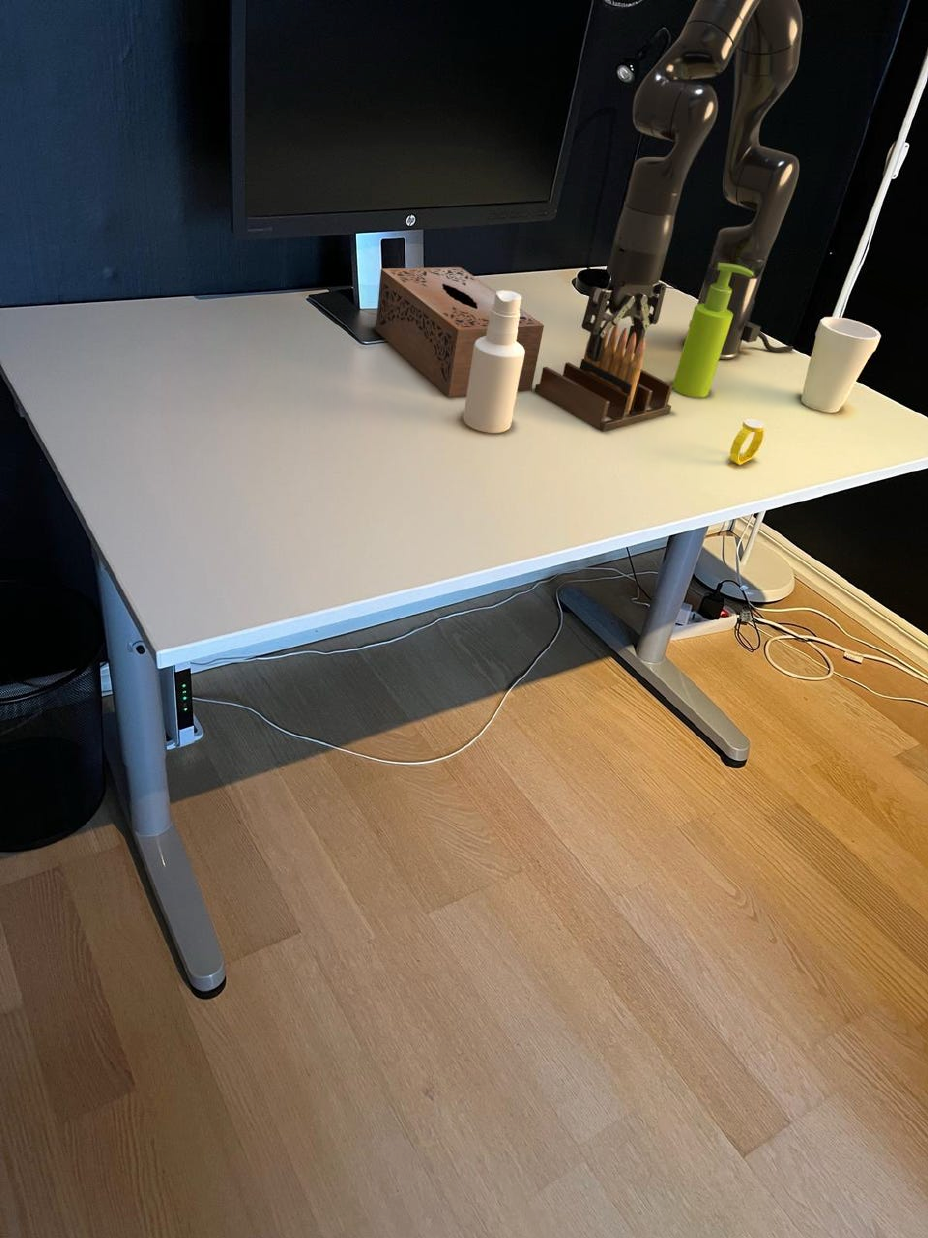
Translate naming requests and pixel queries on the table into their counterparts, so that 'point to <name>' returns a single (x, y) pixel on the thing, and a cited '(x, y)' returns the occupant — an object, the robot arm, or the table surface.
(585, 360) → the ammunition clip
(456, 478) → the table surface
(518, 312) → the spray bottle
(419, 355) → the tissue box cover
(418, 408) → the table surface
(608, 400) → the slotted rack
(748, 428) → the watch
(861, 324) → the foam cup
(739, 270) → the soap dispenser
